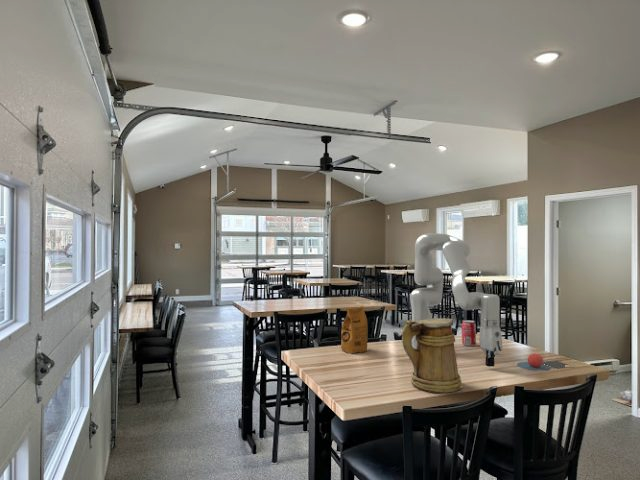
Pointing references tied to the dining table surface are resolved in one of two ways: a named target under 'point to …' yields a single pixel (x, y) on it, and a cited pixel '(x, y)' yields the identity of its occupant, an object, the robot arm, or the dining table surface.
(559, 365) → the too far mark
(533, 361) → the ball
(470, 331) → the soda can
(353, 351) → the coffee package
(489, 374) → the dining table surface
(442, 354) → the tankard
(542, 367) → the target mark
